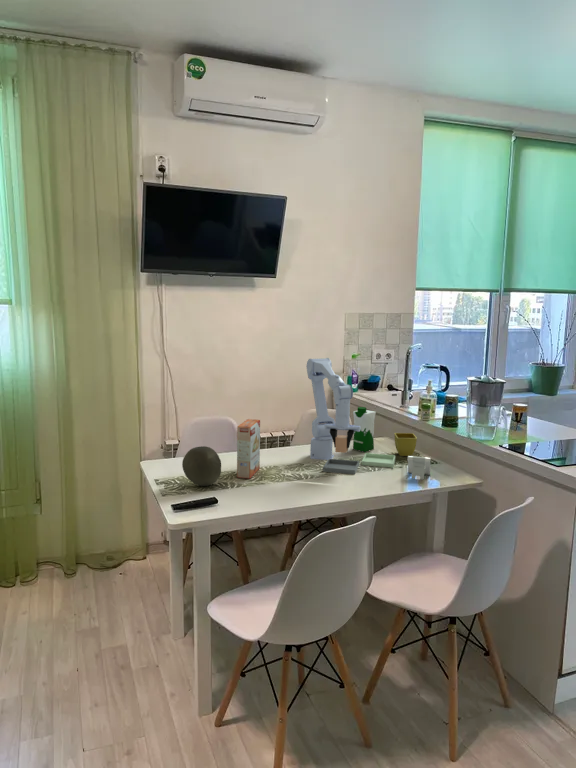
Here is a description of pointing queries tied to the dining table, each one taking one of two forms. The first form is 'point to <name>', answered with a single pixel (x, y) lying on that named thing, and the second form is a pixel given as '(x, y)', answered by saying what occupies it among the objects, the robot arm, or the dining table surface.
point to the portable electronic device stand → (418, 466)
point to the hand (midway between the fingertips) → (341, 447)
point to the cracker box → (248, 448)
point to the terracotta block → (341, 444)
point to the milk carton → (364, 429)
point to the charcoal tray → (341, 466)
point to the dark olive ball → (202, 466)
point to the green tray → (378, 460)
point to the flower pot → (405, 443)
